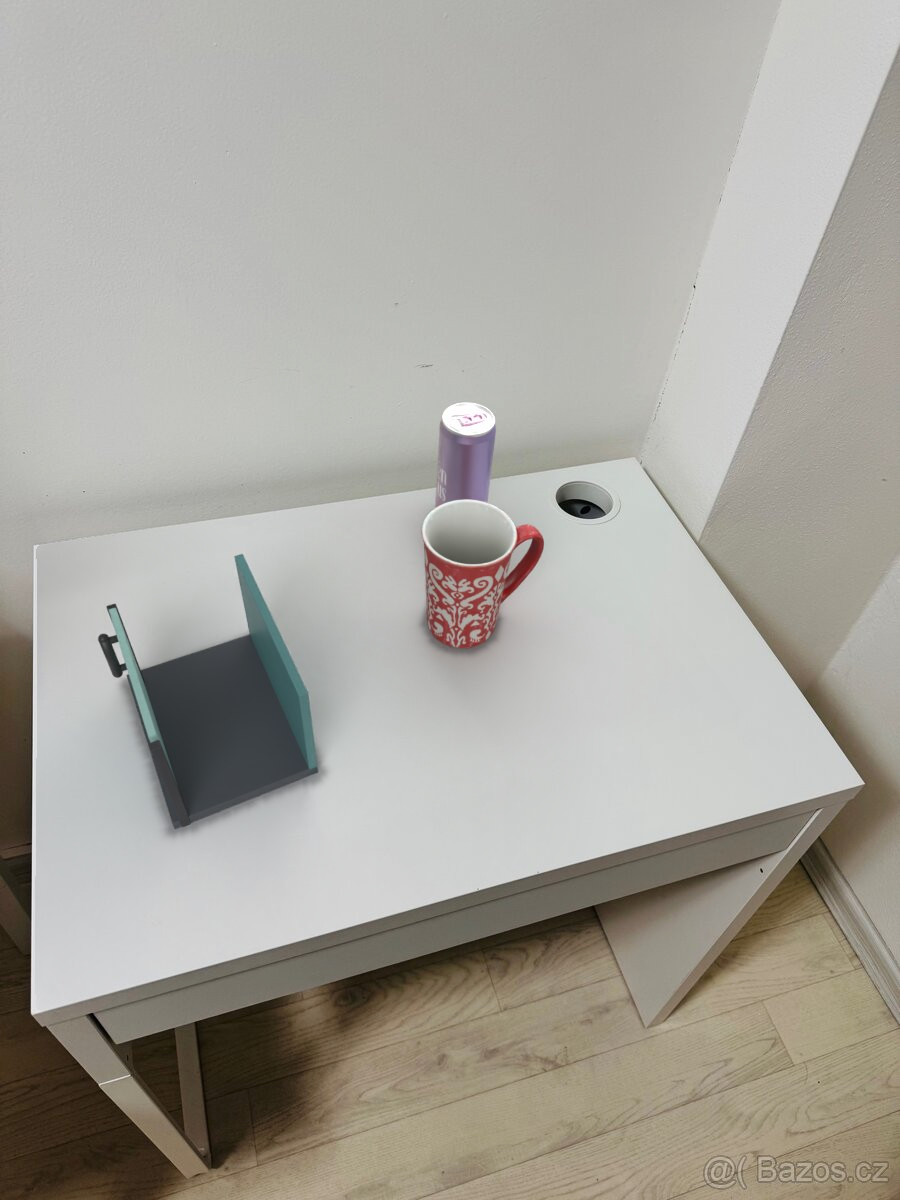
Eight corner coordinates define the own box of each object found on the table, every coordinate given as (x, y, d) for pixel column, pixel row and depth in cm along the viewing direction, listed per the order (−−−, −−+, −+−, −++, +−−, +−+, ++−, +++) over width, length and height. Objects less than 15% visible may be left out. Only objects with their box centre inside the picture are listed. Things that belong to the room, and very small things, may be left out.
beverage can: (492, 533, 98) (506, 429, 86) (445, 545, 96) (452, 440, 85) (473, 501, 101) (483, 396, 90) (427, 511, 100) (431, 406, 88)
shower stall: (175, 830, 71) (142, 754, 62) (129, 682, 81) (95, 596, 72) (318, 773, 76) (308, 694, 66) (258, 638, 86) (242, 553, 76)
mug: (433, 665, 85) (440, 574, 74) (406, 601, 90) (409, 508, 80) (547, 637, 88) (568, 546, 78) (514, 576, 93) (530, 484, 83)
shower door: (156, 813, 71) (126, 745, 63) (118, 686, 79) (87, 611, 71) (184, 803, 72) (157, 733, 64) (143, 678, 80) (115, 602, 72)
